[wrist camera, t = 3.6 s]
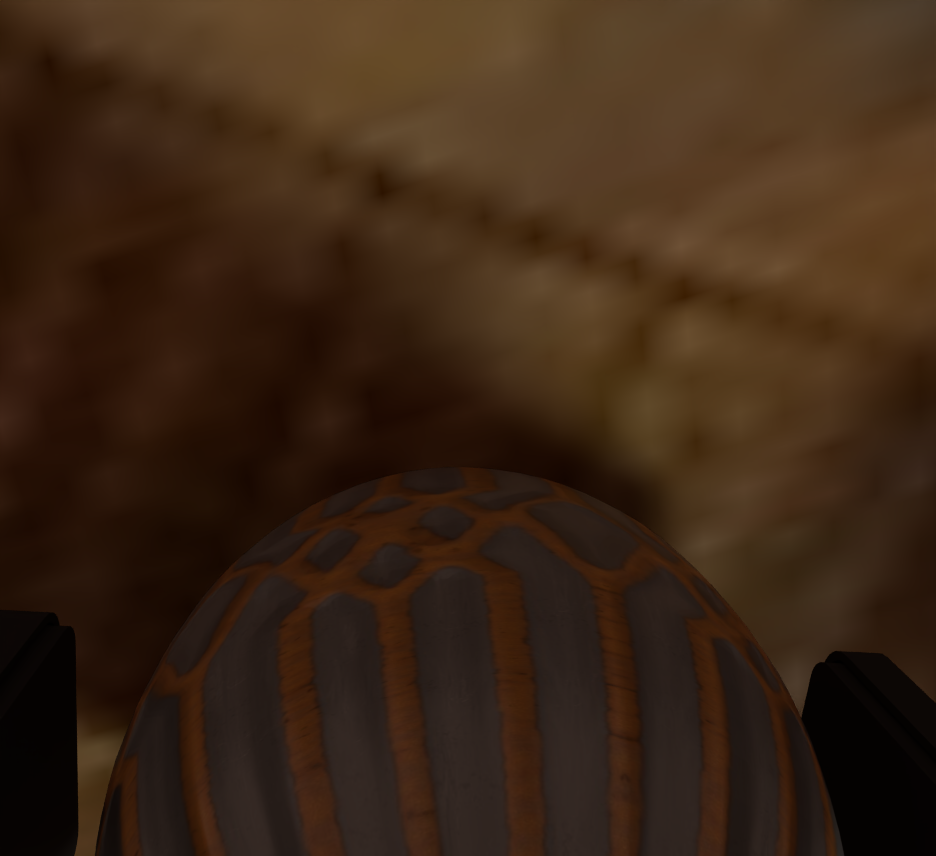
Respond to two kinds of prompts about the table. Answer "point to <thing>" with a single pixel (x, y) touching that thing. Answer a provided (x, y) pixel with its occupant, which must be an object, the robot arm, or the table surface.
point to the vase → (465, 693)
